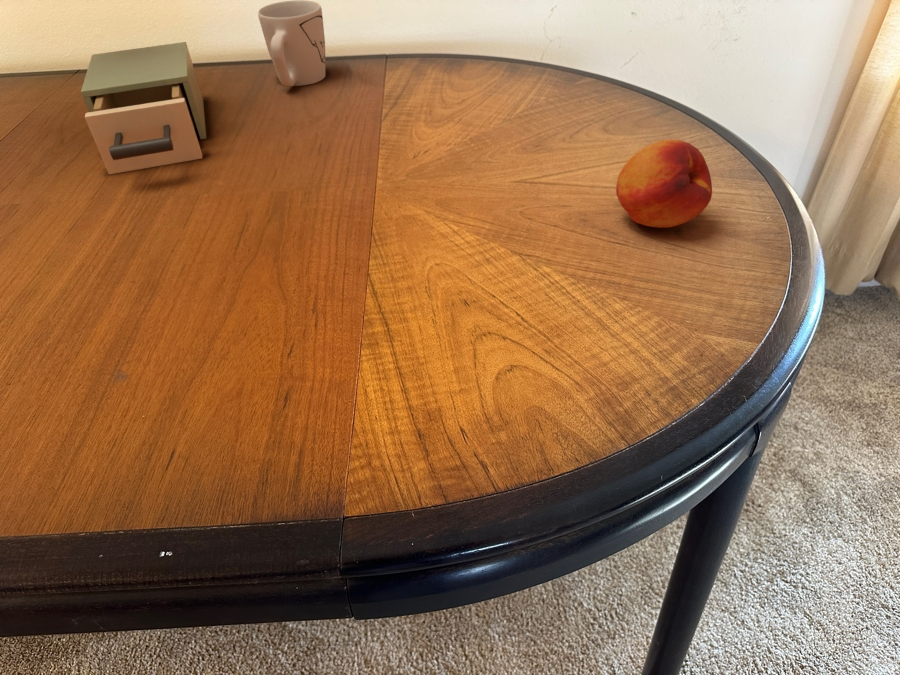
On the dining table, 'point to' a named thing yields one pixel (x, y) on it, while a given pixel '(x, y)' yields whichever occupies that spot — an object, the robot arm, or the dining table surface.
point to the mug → (295, 40)
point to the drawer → (144, 128)
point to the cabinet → (145, 75)
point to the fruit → (665, 184)
